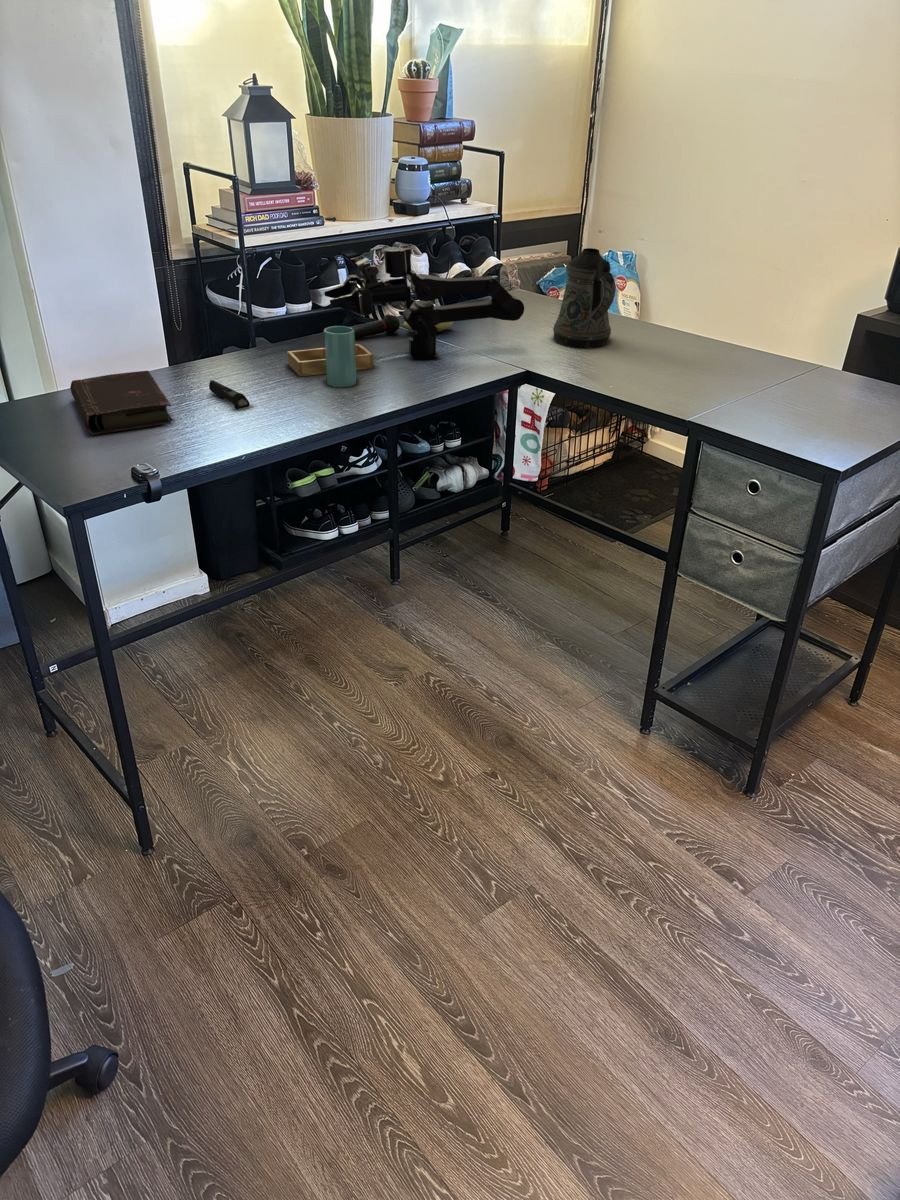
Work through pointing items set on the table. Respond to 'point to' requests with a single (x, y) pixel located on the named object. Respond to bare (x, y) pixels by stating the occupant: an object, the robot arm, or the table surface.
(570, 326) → the beer stein
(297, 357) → the divided wooden tray
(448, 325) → the plant cell model
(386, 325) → the microphone
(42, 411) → the table surface
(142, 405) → the diary
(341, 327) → the tumbler
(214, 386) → the electric trimmer
